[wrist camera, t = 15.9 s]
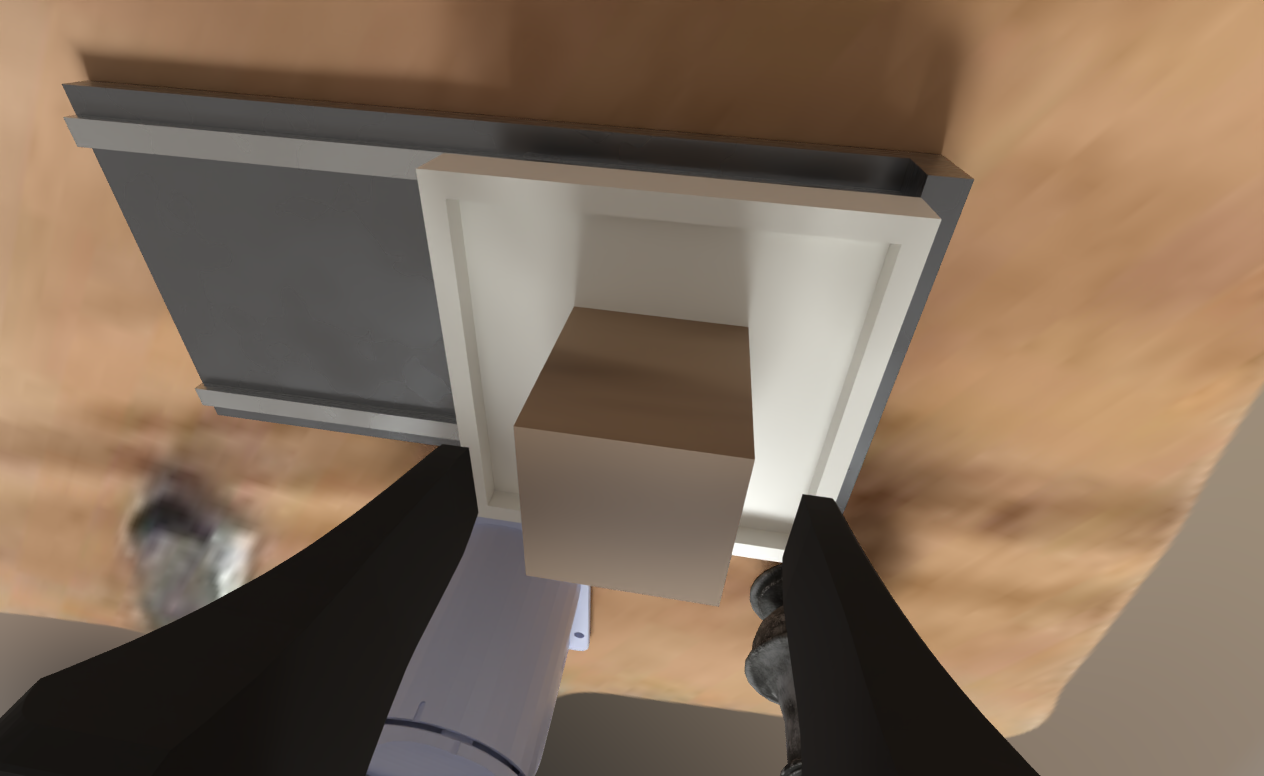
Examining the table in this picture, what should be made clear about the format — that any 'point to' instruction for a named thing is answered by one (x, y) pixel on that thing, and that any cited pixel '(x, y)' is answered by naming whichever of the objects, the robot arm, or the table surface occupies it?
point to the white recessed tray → (673, 302)
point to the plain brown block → (637, 454)
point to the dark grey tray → (383, 236)
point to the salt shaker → (774, 661)
